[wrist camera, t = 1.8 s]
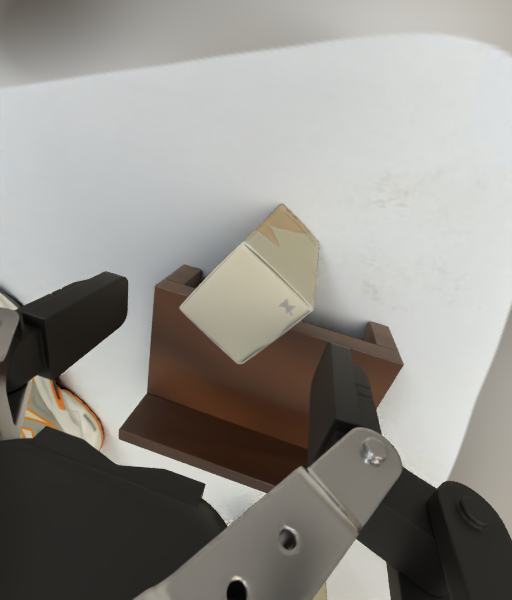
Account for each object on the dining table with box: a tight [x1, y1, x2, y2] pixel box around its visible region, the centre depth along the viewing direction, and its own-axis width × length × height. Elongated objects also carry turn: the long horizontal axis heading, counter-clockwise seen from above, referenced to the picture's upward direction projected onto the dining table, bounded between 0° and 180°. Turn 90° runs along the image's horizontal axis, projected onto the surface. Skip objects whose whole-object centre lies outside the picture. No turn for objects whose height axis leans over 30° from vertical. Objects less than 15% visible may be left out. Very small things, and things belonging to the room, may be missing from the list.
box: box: [179, 204, 319, 364], centre depth 18 cm, size 5×4×11 cm
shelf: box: [119, 265, 404, 493], centre depth 23 cm, size 12×18×9 cm, turn 77°
